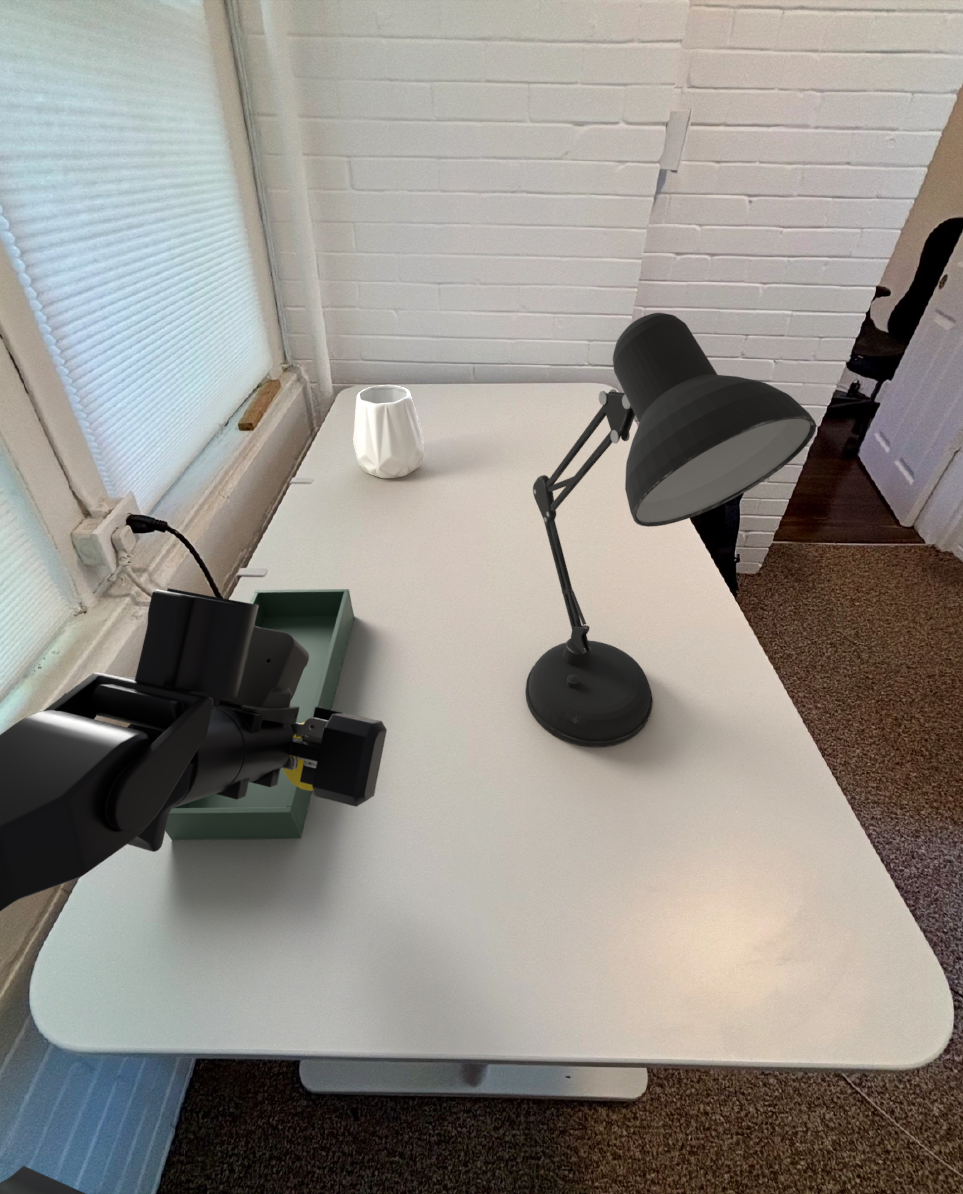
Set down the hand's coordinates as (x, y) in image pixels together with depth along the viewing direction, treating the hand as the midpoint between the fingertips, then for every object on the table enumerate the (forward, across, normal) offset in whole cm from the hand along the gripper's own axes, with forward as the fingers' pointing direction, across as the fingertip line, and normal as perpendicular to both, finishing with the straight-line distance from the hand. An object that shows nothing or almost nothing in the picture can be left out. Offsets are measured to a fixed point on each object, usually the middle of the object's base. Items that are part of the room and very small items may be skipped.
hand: (314, 727), depth 54 cm
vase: (+61, +23, -43) cm, 78 cm away
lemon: (+4, 0, +6) cm, 7 cm away
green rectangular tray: (+17, +13, +2) cm, 21 cm away
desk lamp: (+24, -24, -6) cm, 35 cm away
